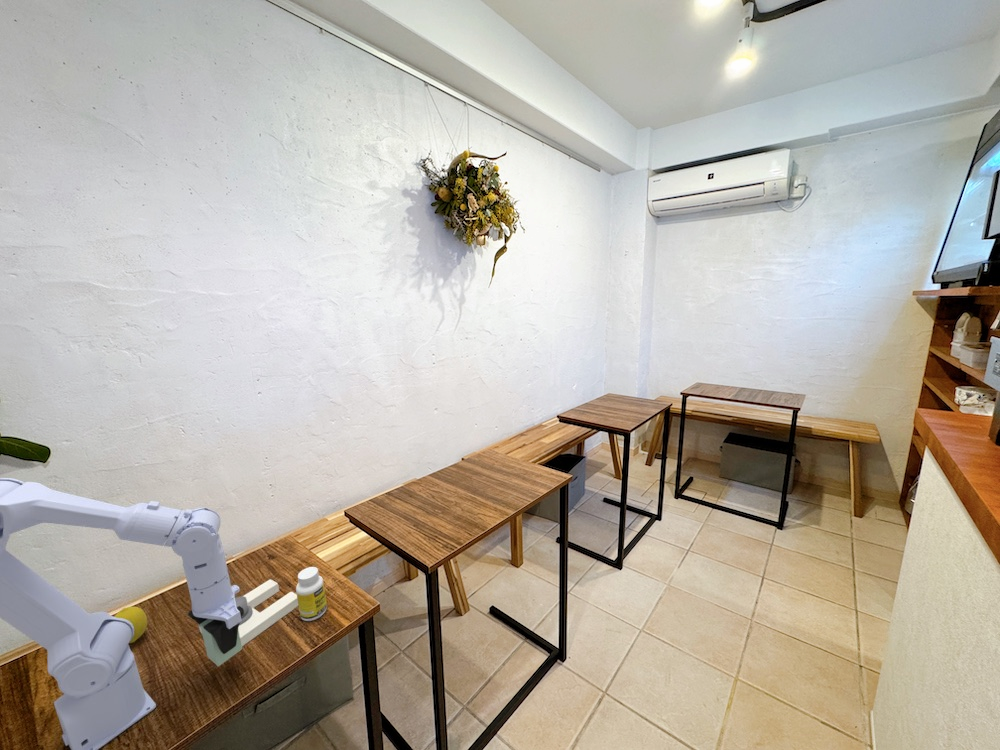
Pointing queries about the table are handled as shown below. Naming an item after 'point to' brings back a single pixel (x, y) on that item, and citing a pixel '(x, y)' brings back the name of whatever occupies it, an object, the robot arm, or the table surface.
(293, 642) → the table surface
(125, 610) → the lemon
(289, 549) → the table surface
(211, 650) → the block
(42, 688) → the table surface
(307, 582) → the supplement bottle
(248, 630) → the notched board
